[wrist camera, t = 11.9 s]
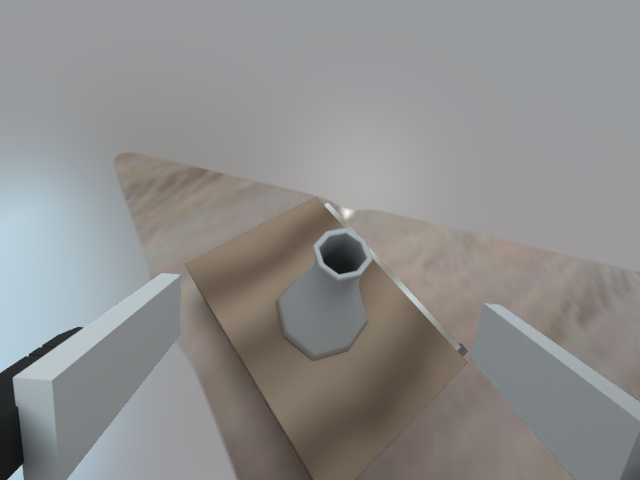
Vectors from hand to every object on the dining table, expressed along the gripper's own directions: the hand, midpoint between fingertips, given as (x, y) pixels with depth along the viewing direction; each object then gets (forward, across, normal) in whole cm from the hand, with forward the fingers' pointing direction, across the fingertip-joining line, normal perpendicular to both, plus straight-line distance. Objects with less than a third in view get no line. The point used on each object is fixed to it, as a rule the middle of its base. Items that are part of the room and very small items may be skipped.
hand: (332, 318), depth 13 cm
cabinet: (+17, 0, -11) cm, 20 cm away
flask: (+11, +1, -5) cm, 12 cm away
